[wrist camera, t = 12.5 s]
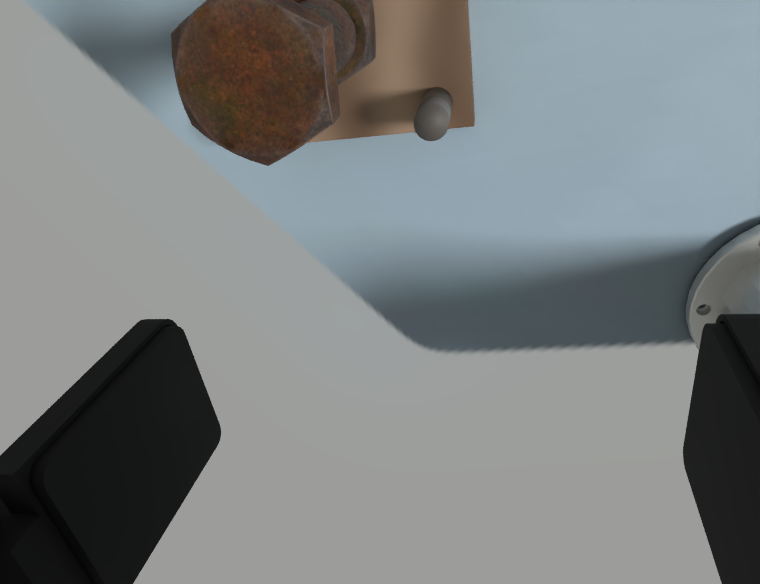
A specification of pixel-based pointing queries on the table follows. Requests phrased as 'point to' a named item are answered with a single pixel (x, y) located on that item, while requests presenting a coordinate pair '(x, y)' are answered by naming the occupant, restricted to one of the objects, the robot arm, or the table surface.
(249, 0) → the bolt
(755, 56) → the table surface
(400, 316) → the table surface
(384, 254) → the table surface
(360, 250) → the table surface
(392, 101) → the peg holder
